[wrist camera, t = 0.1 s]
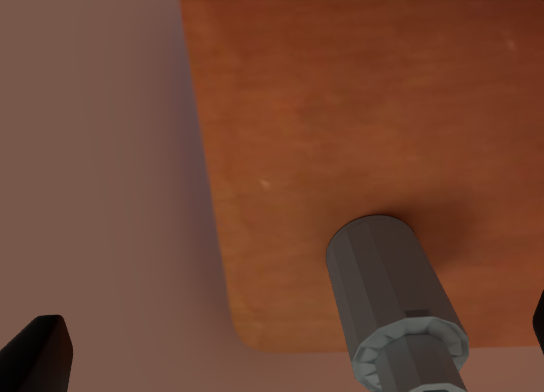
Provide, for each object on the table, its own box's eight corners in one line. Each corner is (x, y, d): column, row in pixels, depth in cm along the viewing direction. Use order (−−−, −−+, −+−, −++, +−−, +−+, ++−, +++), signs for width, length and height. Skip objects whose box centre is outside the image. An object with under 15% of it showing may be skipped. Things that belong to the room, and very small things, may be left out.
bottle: (410, 284, 30) (480, 442, 22) (322, 288, 30) (359, 450, 22) (424, 212, 28) (509, 362, 19) (327, 217, 27) (370, 371, 19)
